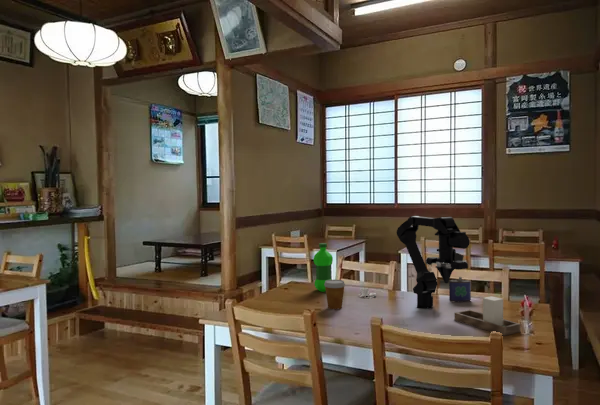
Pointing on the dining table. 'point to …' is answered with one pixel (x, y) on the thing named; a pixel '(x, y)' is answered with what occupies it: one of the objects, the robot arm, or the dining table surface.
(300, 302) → the dining table surface
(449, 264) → the robot arm
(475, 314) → the walnut box
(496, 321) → the cream block
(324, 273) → the plastic bottle
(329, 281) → the disposable coffee cup
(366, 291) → the teacup and saucer
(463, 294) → the flask
